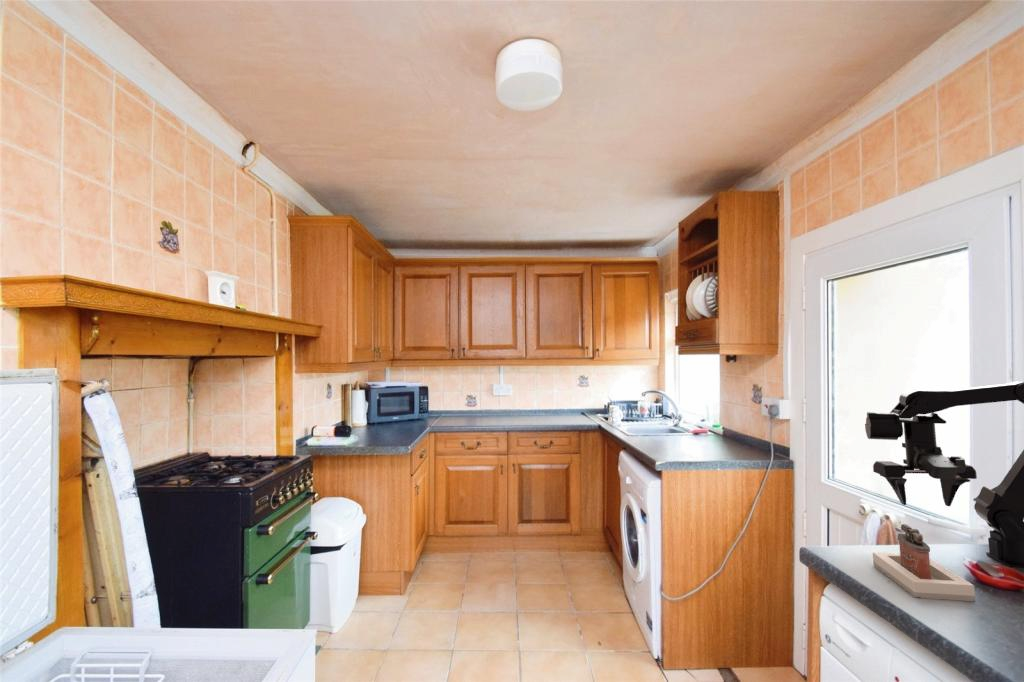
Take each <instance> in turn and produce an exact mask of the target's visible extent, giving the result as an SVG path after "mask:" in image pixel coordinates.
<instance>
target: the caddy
mask: <svg viewBox="0 0 1024 682" xmlns="http://www.w3.org/2000/svg"><path fill="white" fill-rule="evenodd" d="M872 560H873V567H875V568H876V569H877V570H879V571H880V570H881V571H882V572H881V571H880V572H881V573H883V574H884V573H885V574H886V575H885V574H884V575H885V576H886V577H888V576H889V577H890V578H889V577H888V578H889V579H890V580H891V581H893V580H894V581H895V582H894V581H893V582H894V583H896V584H897V583H898V584H899V585H898V584H897V585H898V586H900V587H901V588H902V587H903V588H902V589H903V590H905V591H906V592H907V591H908V592H907V593H909V594H910V595H911V596H913V597H914V598H917V597H921V599H932V600H933V599H934V600H953V601H967V602H975V601H976V595H975V585H974V584H972V583H971V582H969V581H967V580H966V579H965V578H962V577H961V576H959V575H957V573H954V572H952V571H951V570H949V569H948V568H946V567H945V566H943V565H941V564H940V563H938V562H937V561H935V560H933V559H932V558H930V557H929V560H930V572H931V579H932V580H930V579H920V578H918V577H917V576H915V575H914V574H913V573H911V572H910V571H908V570H907V569H905V568H904V567H903V566H901V565H900V564H901V557H900V552H899V553H895V552H894V553H893V552H880V551H879V552H876V551H875V552H874V551H873V552H872Z"/></svg>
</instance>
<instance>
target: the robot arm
mask: <svg viewBox="0 0 1024 682" xmlns="http://www.w3.org/2000/svg"><path fill="white" fill-rule="evenodd" d="M1009 401H1010V402H1011V401H1018V402H1020V403H1022V404H1023V405H1024V382H1023V381H1012V382H1009V383H1001V384H991V385H990V384H989V385H982V386H974V387H966V388H965V387H963V388H955V389H945V390H944V389H920V388H918V389H916V388H914V389H907V390H904V391H902V393H901V394H900V396H899V401H898V403H897V404H896V406H895V407H894V408H892V410H891V411H890V412H887V413H886V412H873V411H872V412H871V411H868V412H866V417H865V418H866V419H865V423H864V429H865V434H866V437H867V439H868V440H887V441H888V440H889V441H898V439H899V438H902V437H903V436H904V442H901V447H902V448H904V449H905V456H906V459H905V458H904V459H902V462H903V465H902V464H900V463H897V462H894V461H889V460H887V461H885V460H884V461H883V460H881V461H880V460H879V461H878V460H876V461H875V462H873V465H872V468H873V469H872V470H873V471H872V472H873V473H876V474H878V475H879V476H880V477H883V478H885V480H886V481H887V482H888V483H889V485H890V487H891V488H892V490H893V492H894V493H895V495H896V497H897V498H898V500H899V502H900V504H901V505H903V506H907V496H906V488H905V486H906V485H905V484H906V483H907V481H908V480H907V478H905V475H906V474H928V475H929V476H930V477H931V478H933V479H936V480H939V481H940V487H941V492H942V493H941V494H942V498H943V502H944V505H945V506H947V507H951V505H952V503H953V501H954V499H955V496H956V494H957V491H958V490H959V488H960V487H961V486H962V485H963V484H965V483H970V482H971V479H972V480H974V479H975V480H977V479H978V476H977V471H976V469H975V468H974V467H973V466H972V465H969V464H966V460H965V458H963V457H962V456H957V455H956V456H944V455H943V454H944V453H943V451H942V450H943V449H942V448H941V447H940V446H938V445H937V437H936V436H937V435H936V425H935V424H941V425H942V424H943V425H944V424H947V421H946V420H945V419H943V418H942V417H941V416H939V414H938V413H937V412H940V411H943V410H947V409H950V408H954V407H959V406H960V407H961V406H968V405H969V406H970V405H971V406H972V405H981V404H991V403H1000V402H1009ZM928 414H929V415H928ZM904 464H905V465H904ZM973 502H975V504H974V506H973V507H974V508H973V509H974V510H975V513H976V514H977V515H978V517H980V518H981V519H982V520H984V521H985V522H986V523H987V525H988V527H989V528H992V529H993V530H989V537H988V551H989V552H985V555H986V556H988V557H990V558H992V559H994V560H996V561H997V562H1000V563H1002V564H1003V565H1005V566H1008V567H1010V568H1011V567H1015V568H1024V449H1023V450H1022V451H1021V453H1020V455H1019V456H1018V457H1017V459H1016V460H1015V462H1014V463H1013V464H1012V466H1011V468H1010V469H1008V472H1007V473H1006V475H1005V476H1004V477H1003V479H1002V481H1001V482H1000V483H999V484H998V485H997V486H995V487H993V488H991V489H990V488H988V487H986V486H982V487H981V489H980V491H979V494H978V495H977V496H976V497H974V498H973Z"/></svg>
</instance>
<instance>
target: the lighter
mask: <svg viewBox="0 0 1024 682" xmlns="http://www.w3.org/2000/svg"><path fill="white" fill-rule="evenodd" d="M900 530H901V531H902V532H903V533H898V534H897V539H898V542H899V553H900V557H901V564H900V565H901V566H903V567H904V568H905V569H907V570H908V571H910V572H911V573H913V574H914V575H915V576H917V577H918V578H920V579H930V580H932V579H931V572H930V560H929V558H930V552H931V547H930V546H929V545H928V544H927V543H926V542H924V537H923V534H921V533H920V531H919V529H917V528H912V527H911V526H909V525H908V524H905V523H902V524H901V525H900Z"/></svg>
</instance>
